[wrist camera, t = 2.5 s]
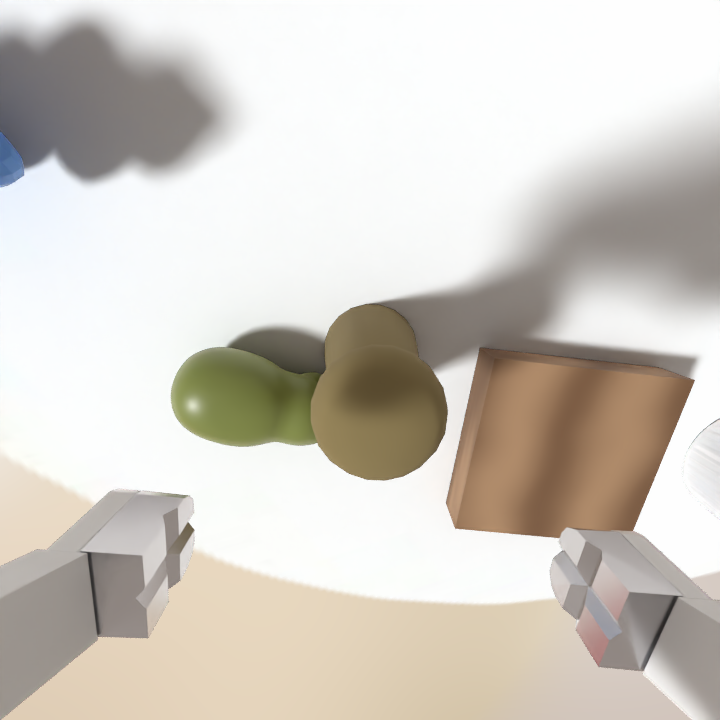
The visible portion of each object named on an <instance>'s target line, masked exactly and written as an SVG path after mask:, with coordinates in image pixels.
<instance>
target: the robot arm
mask: <svg viewBox="0 0 720 720" xmlns="http://www.w3.org/2000/svg"><path fill="white" fill-rule="evenodd" d="M193 513H194V503H193V498H192V497H190V496H188V495H179V494H169V493H160V492H151V491H138V490H128V489H115V490H112V491H110V492H109V493H108V494H107V495H105V496H104V497H103V498H102V499H101V500H100V501H99V502H98V503H97V504H96V505H95V506H93V507H92V509H90V510H89V511H88V512H87V513H86V514H85V515H84V516H83V517H81V518H80V519H79V520H78V521H77V522H76V523H75V524H74V525H73V526H72V527H71V528H69V530H67V531H66V532H65V533H64V534H63V535H62V536H61V537H60V538H59V539H57V541H55V542H54V543H53V544H52V545H51V546H50V547H49V548H48V549H47V550H40V549H37V550H34V551H33V552H30V553H28V554H26V555H23V556H21V557H19V558H17V559H15V560H12V561H11V562H8V563H6V564H4V565H1V566H0V720H1V719H2V718H4V717H5V716H6V715H7V714H9V713H10V712H11V711H12V710H13V709H15V708H16V707H17V706H18V705H19V704H21V703H22V702H23V701H24V700H25V699H27V698H28V697H29V696H30V695H32V694H33V693H34V692H35V691H36V690H38V689H39V688H40V687H41V686H42V685H44V684H45V683H46V682H47V681H48V680H50V679H51V678H52V677H53V676H55V675H56V674H57V673H58V672H59V671H60V670H62V669H63V668H64V667H65V666H67V665H68V664H69V663H70V662H72V661H73V660H74V659H75V658H76V657H78V656H79V655H80V654H81V653H83V652H84V651H85V650H86V649H87V648H88V647H90V646H91V645H92V644H93V643H95V642H96V641H97V640H98V637H126V638H149V636H150V634H151V632H152V631H153V629H154V627H155V625H156V624H157V622H158V620H159V618H160V616H161V615H162V613H163V611H164V609H165V608H166V606H167V604H168V602H169V601H168V589H169V588H171V587H172V586H173V585H175V584H176V583H178V582H179V581H180V580H181V578H182V576H183V575H184V572H185V571H186V569H187V567H188V564H189V561H190V558H191V555H192V552H193V546H194V529H193V528H192V526H191V525H190V524H189V523H188V521H189V519H190V518H191V516H192V515H193ZM559 544H560V546H561V548H562V551H561V552H560V553H559V554H558V555H556V556H555V557H554V558H553V560H552V564H551V568H550V578H551V586H552V588H553V591H554V594H555V596H556V598H557V600H558V601H559V603H560V605H561V606H562V608H563V609H564V610H566V611H567V612H568V613H569V614H571V615H572V616H573V617H574V618H575V619H576V631H577V633H578V634H579V636H580V638H581V639H582V641H583V642H584V644H585V646H586V647H587V649H588V651H589V652H590V654H591V656H592V657H593V659H594V660H595V662H596V663H597V665H598V667H604V668H615V669H625V670H635V671H644V672H643V675H644V676H645V677H647V679H649V680H650V681H651V682H652V683H653V684H654V685H655V686H656V687H657V688H658V689H659V690H660V691H662V692H663V693H664V694H665V695H666V696H667V697H668V698H669V699H670V700H671V701H672V702H673V703H674V704H676V705H677V706H678V707H679V708H680V709H681V710H682V711H683V712H684V713H685V714H686V715H687V716H688V717H689V718H690V719H691V720H720V600H713V599H711V598H710V597H709V596H708V595H707V594H706V593H705V592H704V591H703V590H702V589H701V588H700V587H698V586H697V585H696V584H695V583H694V582H693V581H692V580H691V579H690V578H689V577H688V576H687V575H685V574H684V573H683V572H682V571H681V570H680V569H679V568H678V567H677V566H676V565H675V564H674V563H673V562H671V561H670V560H669V559H668V558H667V557H666V556H665V555H664V554H663V553H662V552H661V551H660V550H658V549H657V548H656V547H655V546H654V545H653V544H652V543H651V542H650V541H649V540H648V539H647V538H645V537H644V536H643V535H641V534H639V533H637V532H635V531H619V530H611V531H608V530H596V529H583V528H570V527H567V528H566V529H565V530H564V531H563V532H562V533H561V536H560V539H559Z"/></svg>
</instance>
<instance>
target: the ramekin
mask: <svg viewBox="0 0 720 720" xmlns="http://www.w3.org/2000/svg"><path fill="white" fill-rule="evenodd" d="M682 475H683V480H684V484H685V487H686V489H687V490H688V492H689V493H690V494H691V495H692V496H693V497H694V498H695V499H696V500H697V501H698V502H699V503H700V504H701V505H702V506H703V507H704V508H706V509H707V510H708V511H709V512H711V513H712V514H713V515H714V516H716V517H717V518H718V519H719V520H720V419H719V420H717V421H716V422H714V423H713V424H711V425H710V426H708V427H707V428H706V429H705V430H703V431H702V432H701V433H700V434H699V435H698V436H697V437H696V439H695V440H694V441H693V442H692V444H691V445H690V447H689V449H688V451H687V453H686V455H685V458H684V462H683V468H682Z"/></svg>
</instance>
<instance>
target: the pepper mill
mask: <svg viewBox="0 0 720 720" xmlns="http://www.w3.org/2000/svg"><path fill="white" fill-rule="evenodd" d="M324 356H325V365H326V370H325V371H324V373H323V374H322V375H321V376H320V378H319V381H318V384H317V386H316V389H315V392H314V394H313V397H312V400H311V424H312V428H313V431H314V434H315V437H316V440H317V443H318V446H319V447H320V448H321V449H322V451H323V452H324V453H325V455H326V456H327V457H328V459H329V460H330V461H331V462H333V463H334V464H336V465H337V466H338V467H340V468H341V469H343V470H344V471H346V472H347V473H349V474H351V475H354V476H358V477H361V478H364V479H367V480H390V479H394V478H398V477H403V476H405V475H407V474H409V473H411V472H412V471H414V470H416V469H418V468H420V467H421V466H422V465H423V464H424V463H425V462H426V461H427V460H428V459H429V458H430V457H431V456H432V455H433V454H434V453H435V452H436V450H437V448H438V446H439V444H440V442H441V440H442V438H443V436H444V434H445V430H446V422H447V415H448V410H447V403H446V398H445V394H444V389H443V387H442V385H441V384H440V382H439V380H438V379H437V377H436V375H435V374H434V372H433V371H432V369H431V368H430V367H429V366H428V365H427V364H426V363H425V362H424V361H422V360H421V359H420V358H419V356H418V349H417V343H416V339H415V334H414V331H413V330H412V328H411V326H410V325H409V323H408V322H407V320H406V319H405V318H404V317H402V316H401V315H400V314H399V313H398V312H396V311H395V310H393V309H390V308H388V307H385V306H382V305H372V304H365V305H361V306H357V307H354V308H351V309H349V310H348V311H346V312H345V313H343V314H342V315H340V316H339V317H338V318H337V319H336V320H335V322H334V323H333V324H332V326H331V327H330V328H329V331H328V334H327V337H326V339H325V351H324Z"/></svg>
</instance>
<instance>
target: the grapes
mask: <svg viewBox="0 0 720 720" xmlns="http://www.w3.org/2000/svg"><path fill="white" fill-rule="evenodd" d="M22 176H24V165H23V161H22V157H21V156H20V155H19V153H18V152H17V150H16V149H15V148H14V146H13V145H12V144H11V143H10V141H9V140H8V139H7V138H6V137H5V136H4V135H3V133H2V132H1V131H0V187H4V186H8V185H10V184H12V183H13V182H15V181H17V180H18V179H19V178H21V177H22Z"/></svg>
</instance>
